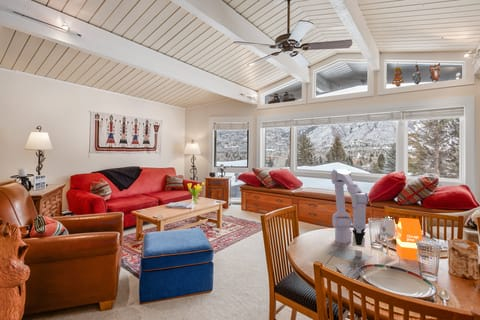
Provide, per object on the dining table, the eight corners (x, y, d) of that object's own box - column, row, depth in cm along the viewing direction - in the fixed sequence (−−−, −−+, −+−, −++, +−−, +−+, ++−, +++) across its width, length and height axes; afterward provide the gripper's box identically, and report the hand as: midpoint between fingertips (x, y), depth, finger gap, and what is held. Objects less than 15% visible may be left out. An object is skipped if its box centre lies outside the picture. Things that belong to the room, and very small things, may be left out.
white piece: (352, 242, 125) (353, 232, 125) (364, 243, 122) (364, 234, 122) (352, 245, 120) (352, 235, 120) (364, 247, 118) (364, 237, 118)
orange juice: (421, 260, 119) (422, 221, 119) (401, 258, 122) (402, 219, 121) (415, 254, 127) (415, 217, 126) (396, 252, 129) (396, 215, 129)
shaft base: (344, 248, 134) (344, 241, 134) (373, 259, 121) (373, 250, 121) (326, 254, 125) (326, 246, 125) (354, 266, 112) (355, 258, 112)
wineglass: (393, 254, 127) (394, 217, 126) (398, 260, 119) (399, 220, 119) (377, 252, 129) (378, 215, 129) (380, 258, 122) (381, 219, 122)
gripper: (351, 212, 129) (350, 237, 130) (349, 218, 116) (349, 246, 117) (365, 214, 126) (365, 239, 126) (366, 220, 113) (365, 249, 113)
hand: (358, 242), depth 121 cm, fingers closed on white piece, 5 cm apart
